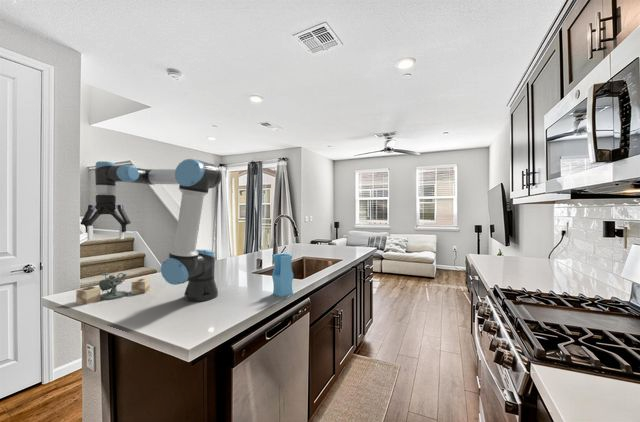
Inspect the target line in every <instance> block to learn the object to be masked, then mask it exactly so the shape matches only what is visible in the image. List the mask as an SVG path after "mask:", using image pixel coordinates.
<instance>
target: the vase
mask: <svg viewBox="0 0 640 422" xmlns="http://www.w3.org/2000/svg"><path fill="white" fill-rule="evenodd" d="M293 256H294V255H293V254H290V253H283V252H282V253H276V254H275V253H274V254H272V258H273V263H274V268H273V271H272V273H271V276H272V277H271V278H272V282H273V292H272V295H275V296H276V297H279V298H283V297H287V296H292V295H294V291H293V280H294V276H295V275H294V272H293V268H292V261H293V260H292V259H293Z"/></svg>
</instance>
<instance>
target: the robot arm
mask: <svg viewBox="0 0 640 422" xmlns="http://www.w3.org/2000/svg"><path fill="white" fill-rule="evenodd" d="M94 173H95V175H94V179H95V180H94V181H95V182H94V183H95V205H94V204H88V207H87V210H86V212H85V214H84V216H83V218H82V220H81V221H80V225H83V226H85V233H87V234H86V235H87V236H86V237H87V241H91V240H94V226H93V224H94V222H95V221H96V220H97V219H98V218H99V217H100V216H101V215H111V216H112V217H113V218H114V219H115V220H116V222H118V224H120V225H119V226H118V227H119V228H118V229H119V231H118V234H119V237H118V238H119V240H124V239H125V233H126V232H127V225H130V224H131V223H132V222H131V220H130V219H129V217H128V215H127V213H126V212H125V210H124V205H123V204H118V205H117V204H116V201H117V199H116V198H117V196H116V192H117V191H116V182H117V183H132V184H142V185H150V186H151V185H152V186H155V185H178V190H179V191H180V192H181V194H182V195H181V200H180V208H179V214H178V219H177V226H176V233H175V238H174V239H175V240H174V246H173V247H174V248H172V249H171V250H169V252H168V253H169V254H168V258H166V259H165V260H164V261H163V262H162V264H161V265H160V272H161V273H160V274H161V276H162V278H164V280H165V282H167V283H168V284H170V285H173V286H176V285H180V284H181V285H182V284H185V283H187V285H186V289H185V291H184V294H183V295H184V297H183V299H184V300H185V301H188V302H204V301H210V300H213V299H215V298H216V297H218V295H219V290H218V287H217V284H216V281H215V263H216V262H215V261H216V260H215V259H216V256H215V255H216V254H215V251H214V250H212V249H196V248H197V243H198V237H199V230H200V225H201V224H200V223H201V217H202V216H201V215H202V209H203V204H204V198H205V196H207V195H208V194H209V189H214V188H217V187H218V186H219V185H220V184H221V182H222V180H223V179H222V178H223V174H222V171H221V169H220V168H219V167H218V166H217V165H215V164H213V163H209V162H205V161H202V160H198V159H194V158H186V159H184V160H182V161H181V162H180V163H178V165H177V167H176V168H174V169H173V168H172V169H171V168H168V169H167V168H165V169H164V168H163V169H162V168H161V169H160V168H159V169H156V168H155V169H152V168H140V167H136V166H135V165H131V164H129V165H127V164H123V165H116V163H115V162H112V161H104V160H102V161H101V160H100V161H97V162H95V168H94ZM95 209H96V210H95ZM116 210H117V211H118V212H117V211H116ZM94 211H95V212H94ZM119 214H120V215H119Z"/></svg>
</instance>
